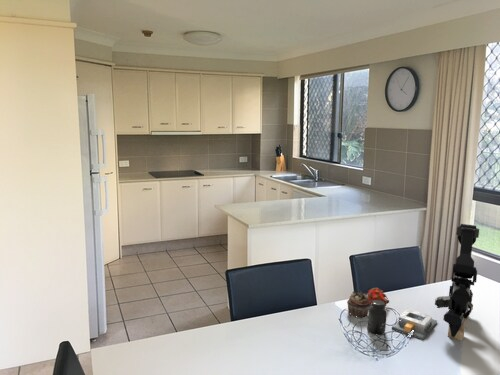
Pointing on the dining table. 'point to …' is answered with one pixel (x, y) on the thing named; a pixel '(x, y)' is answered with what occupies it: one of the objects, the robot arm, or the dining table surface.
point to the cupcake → (358, 304)
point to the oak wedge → (459, 332)
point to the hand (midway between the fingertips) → (456, 332)
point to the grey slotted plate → (415, 323)
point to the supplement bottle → (377, 318)
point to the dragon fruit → (377, 295)
